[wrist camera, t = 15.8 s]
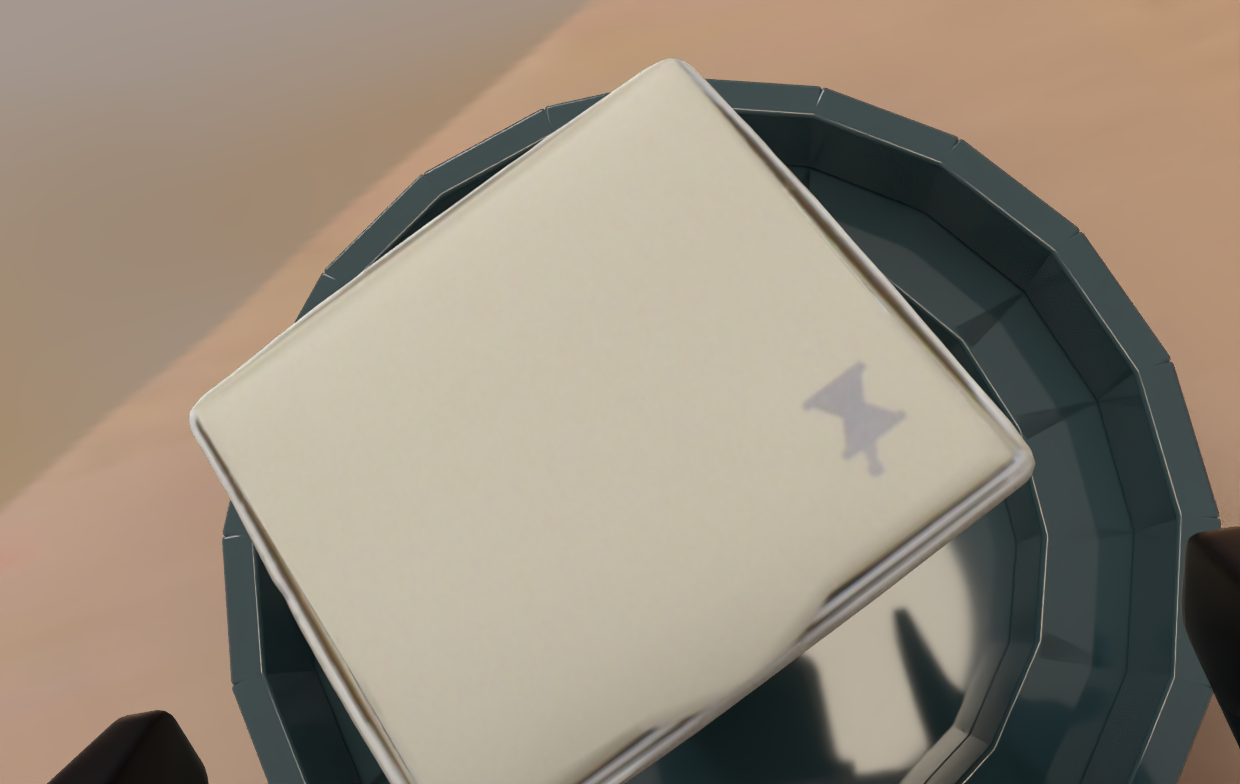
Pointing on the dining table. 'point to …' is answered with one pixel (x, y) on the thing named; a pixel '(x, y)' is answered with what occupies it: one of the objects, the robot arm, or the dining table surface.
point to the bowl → (957, 573)
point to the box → (599, 450)
